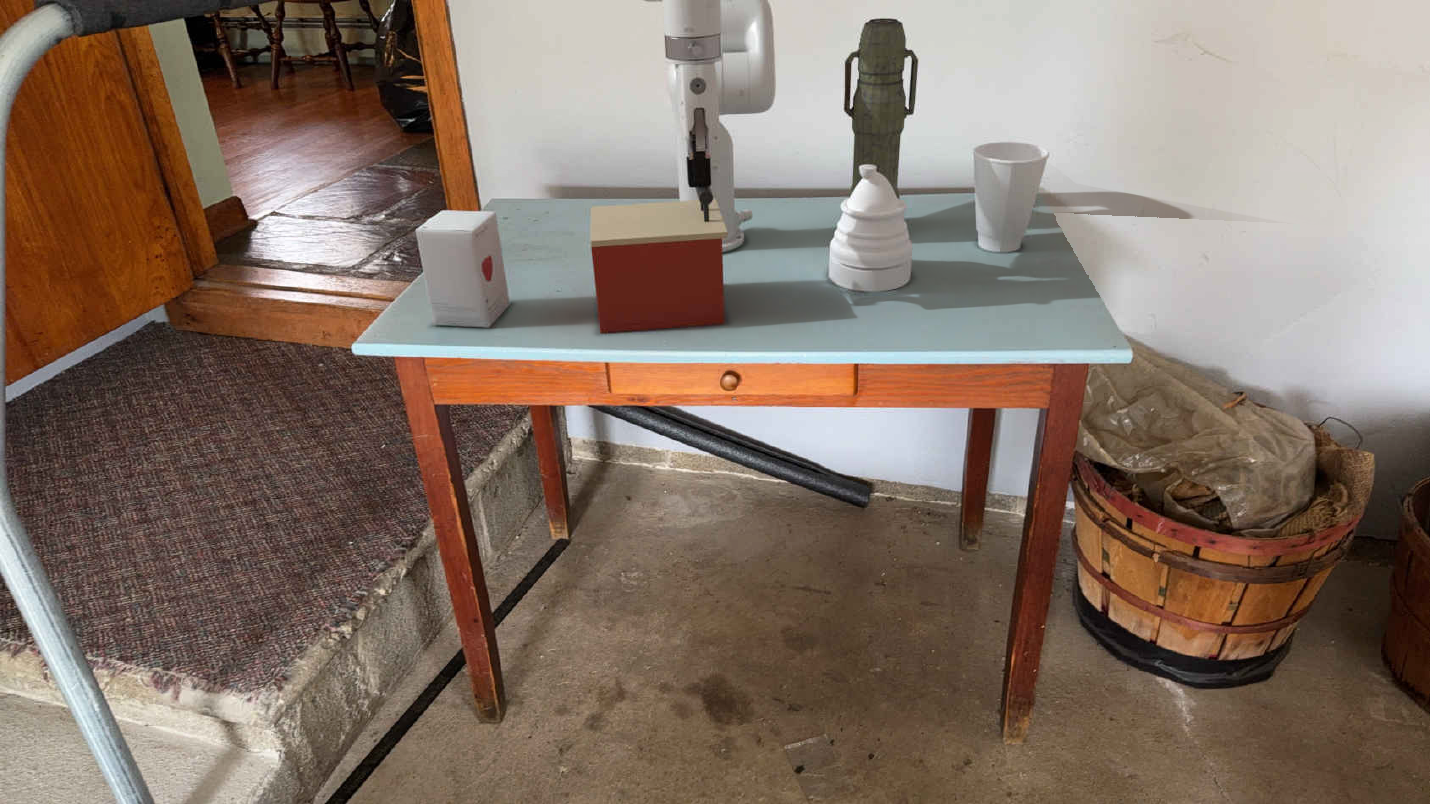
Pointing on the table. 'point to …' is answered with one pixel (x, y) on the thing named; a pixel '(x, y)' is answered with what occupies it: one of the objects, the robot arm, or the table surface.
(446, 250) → the rectangular carton
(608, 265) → the red open box
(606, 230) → the lid
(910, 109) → the olive green vase
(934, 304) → the table surface
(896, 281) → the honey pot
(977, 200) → the cup
